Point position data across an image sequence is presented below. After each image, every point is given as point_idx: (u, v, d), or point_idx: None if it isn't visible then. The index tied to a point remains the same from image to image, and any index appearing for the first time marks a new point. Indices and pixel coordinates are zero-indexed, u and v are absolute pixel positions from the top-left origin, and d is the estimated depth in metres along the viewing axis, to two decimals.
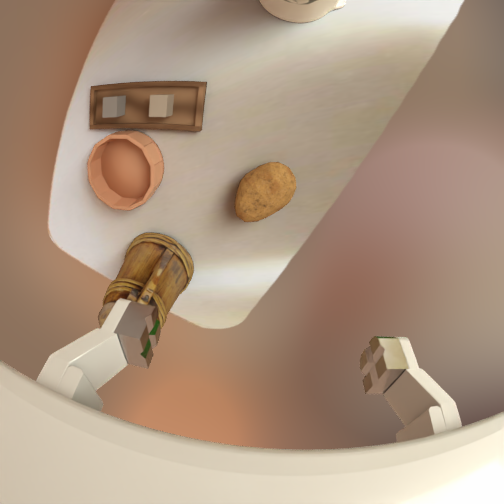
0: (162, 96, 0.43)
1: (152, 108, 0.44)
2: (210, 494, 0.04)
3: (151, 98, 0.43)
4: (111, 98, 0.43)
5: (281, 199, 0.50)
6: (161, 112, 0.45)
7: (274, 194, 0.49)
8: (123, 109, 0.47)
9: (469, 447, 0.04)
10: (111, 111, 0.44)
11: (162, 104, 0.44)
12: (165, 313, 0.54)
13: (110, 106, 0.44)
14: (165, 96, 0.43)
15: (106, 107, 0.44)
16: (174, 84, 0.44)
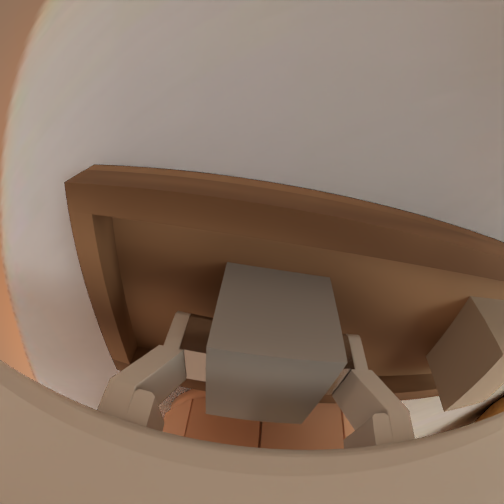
0: None
1: (472, 392, 0.08)
2: (210, 493, 0.04)
3: (496, 365, 0.07)
4: (290, 366, 0.07)
5: None
6: (485, 394, 0.08)
7: None
8: None
9: (469, 447, 0.04)
10: (274, 409, 0.08)
11: None
12: None
13: (268, 394, 0.08)
14: None
15: (238, 394, 0.08)
16: None
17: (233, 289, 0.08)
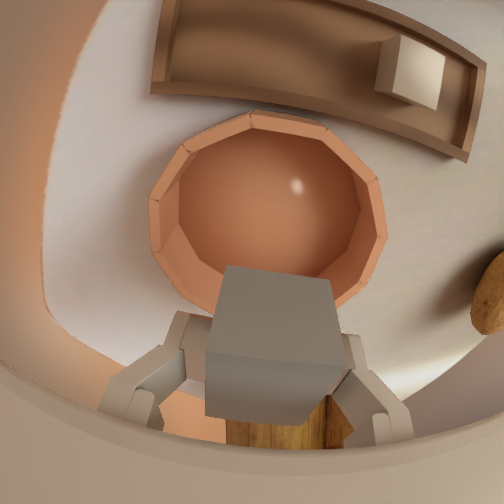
0: (433, 53, 0.11)
1: (405, 73, 0.13)
2: (210, 494, 0.04)
3: (404, 45, 0.11)
4: (289, 369, 0.07)
5: None
6: (427, 93, 0.13)
7: None
8: None
9: (469, 448, 0.04)
10: (274, 411, 0.08)
11: (431, 73, 0.12)
12: None
13: (267, 397, 0.07)
14: (440, 57, 0.11)
15: (237, 396, 0.08)
16: (434, 37, 0.12)
17: (232, 292, 0.08)
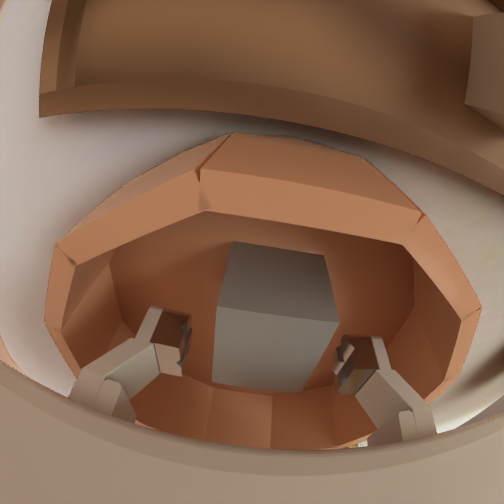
0: None
1: None
2: (210, 494, 0.04)
3: None
4: (289, 324, 0.08)
5: None
6: None
7: None
8: None
9: (469, 447, 0.04)
10: (275, 374, 0.09)
11: None
12: None
13: (270, 357, 0.09)
14: None
15: (242, 357, 0.09)
16: None
17: (239, 261, 0.10)
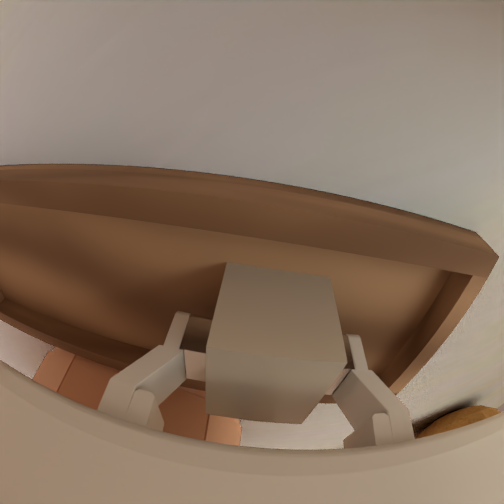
0: (306, 367, 0.07)
1: (226, 399, 0.08)
2: (210, 493, 0.04)
3: (217, 363, 0.07)
4: None
5: None
6: (281, 414, 0.08)
7: None
8: None
9: (469, 447, 0.04)
10: None
11: (295, 393, 0.07)
12: None
13: None
14: (328, 368, 0.07)
15: None
16: (365, 246, 0.07)
17: None
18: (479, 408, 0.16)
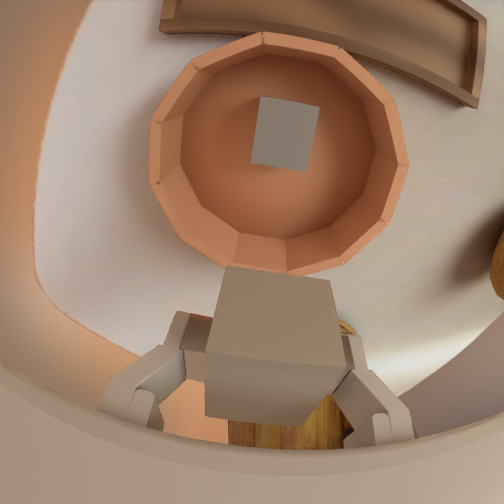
0: (305, 370, 0.07)
1: (225, 401, 0.08)
2: (210, 493, 0.04)
3: (217, 367, 0.07)
4: (295, 107, 0.15)
5: None
6: (280, 416, 0.08)
7: None
8: None
9: (469, 447, 0.04)
10: (289, 150, 0.16)
11: (294, 397, 0.07)
12: None
13: (286, 132, 0.16)
14: (327, 372, 0.07)
15: (271, 133, 0.16)
16: None
17: (267, 96, 0.16)
18: None
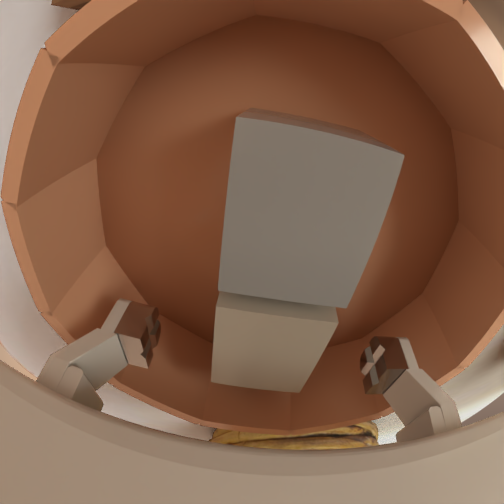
0: (302, 326, 0.08)
1: (231, 363, 0.09)
2: (210, 493, 0.04)
3: (225, 324, 0.08)
4: (339, 153, 0.05)
5: None
6: (281, 380, 0.10)
7: None
8: None
9: (469, 447, 0.04)
10: (315, 266, 0.07)
11: (293, 356, 0.09)
12: None
13: (309, 223, 0.06)
14: (322, 328, 0.08)
15: (268, 226, 0.06)
16: None
17: (260, 112, 0.07)
18: None
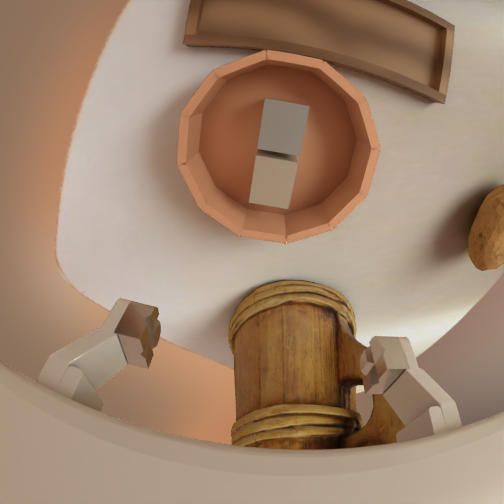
0: (285, 164, 0.22)
1: (258, 186, 0.24)
2: (210, 493, 0.04)
3: (258, 163, 0.23)
4: (291, 106, 0.20)
5: None
6: (279, 198, 0.24)
7: None
8: None
9: (469, 448, 0.04)
10: (287, 139, 0.21)
11: (283, 181, 0.23)
12: None
13: (284, 125, 0.21)
14: (292, 165, 0.22)
15: (273, 126, 0.21)
16: (407, 5, 0.14)
17: (270, 98, 0.21)
18: None
